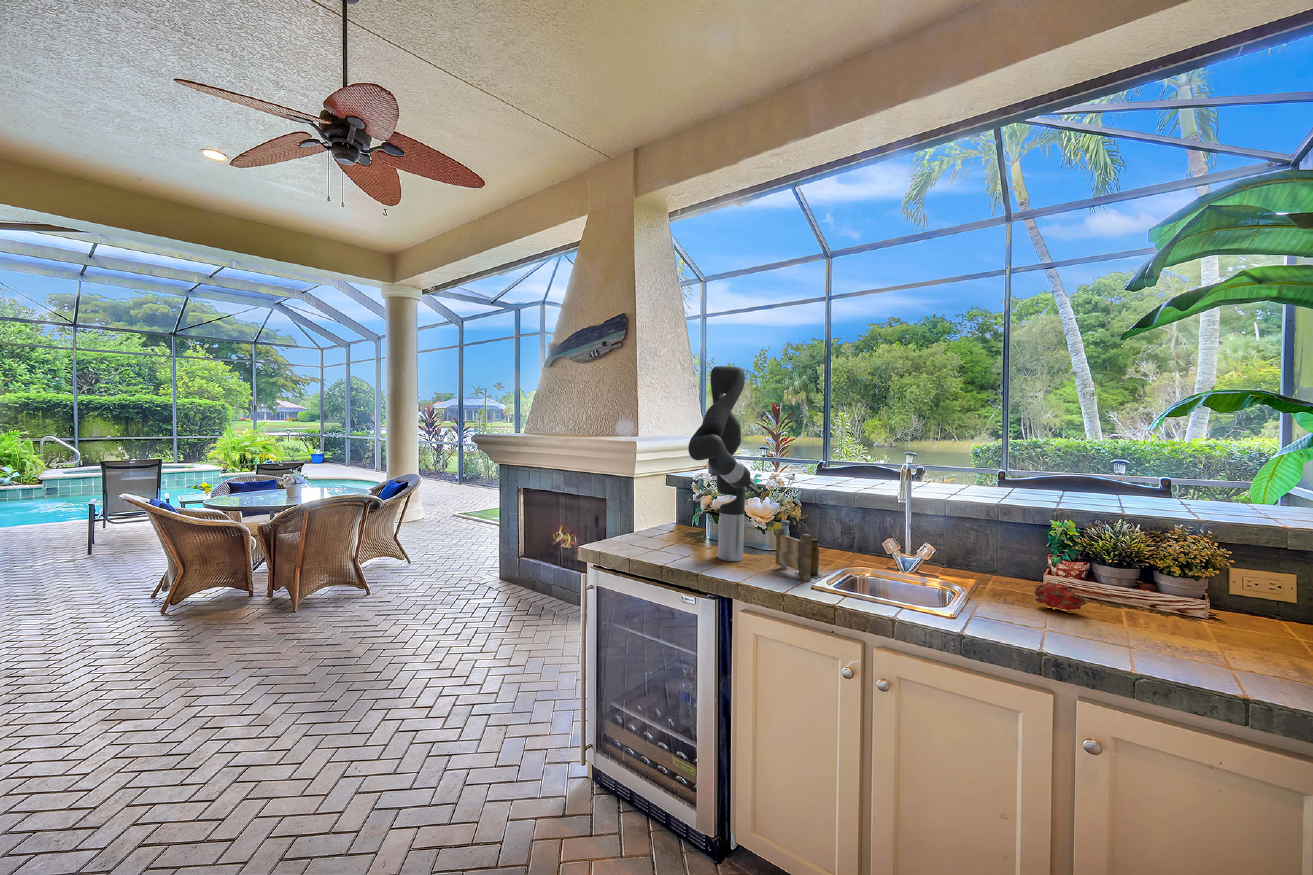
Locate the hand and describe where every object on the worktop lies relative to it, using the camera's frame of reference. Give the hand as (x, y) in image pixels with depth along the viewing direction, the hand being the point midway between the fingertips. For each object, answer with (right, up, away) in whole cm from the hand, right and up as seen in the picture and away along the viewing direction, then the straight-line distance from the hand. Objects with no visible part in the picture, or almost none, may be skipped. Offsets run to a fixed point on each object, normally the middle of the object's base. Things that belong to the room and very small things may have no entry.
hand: (758, 494), depth 178 cm
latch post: (+10, -27, +7) cm, 30 cm away
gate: (+11, -26, +1) cm, 28 cm away
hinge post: (+14, -27, -7) cm, 31 cm away
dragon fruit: (+79, -30, -30) cm, 90 cm away
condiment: (+18, -28, +1) cm, 33 cm away
